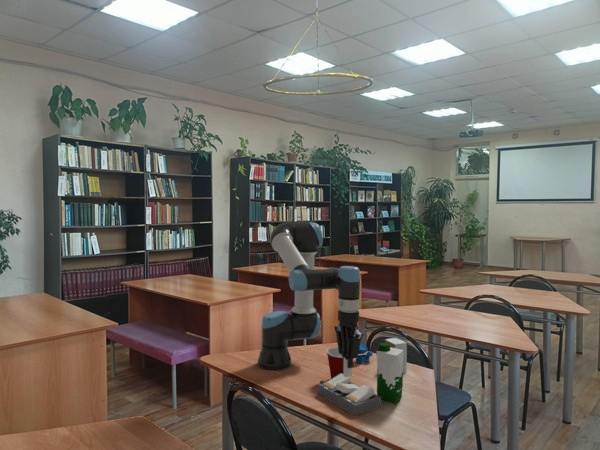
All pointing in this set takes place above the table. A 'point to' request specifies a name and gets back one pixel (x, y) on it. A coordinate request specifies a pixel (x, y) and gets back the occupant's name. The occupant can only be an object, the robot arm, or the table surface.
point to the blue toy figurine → (363, 350)
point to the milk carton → (389, 373)
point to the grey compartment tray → (346, 404)
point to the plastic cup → (335, 362)
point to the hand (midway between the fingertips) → (347, 375)
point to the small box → (399, 345)
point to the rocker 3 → (360, 394)
